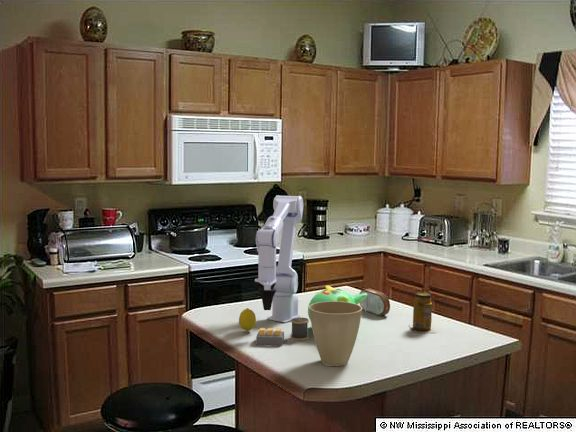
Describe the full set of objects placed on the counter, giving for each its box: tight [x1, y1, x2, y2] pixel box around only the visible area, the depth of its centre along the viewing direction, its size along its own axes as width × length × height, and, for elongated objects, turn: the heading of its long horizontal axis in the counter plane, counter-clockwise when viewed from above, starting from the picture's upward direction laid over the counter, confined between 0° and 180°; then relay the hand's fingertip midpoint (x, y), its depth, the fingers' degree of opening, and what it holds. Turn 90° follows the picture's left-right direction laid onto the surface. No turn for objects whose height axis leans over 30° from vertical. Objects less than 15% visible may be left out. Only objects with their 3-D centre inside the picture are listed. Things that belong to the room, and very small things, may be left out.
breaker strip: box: [255, 327, 285, 347], centre depth 192 cm, size 8×6×4 cm
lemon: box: [238, 307, 257, 333], centre depth 202 cm, size 6×6×8 cm
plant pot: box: [308, 301, 363, 367], centre depth 174 cm, size 15×15×16 cm
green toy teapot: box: [307, 285, 367, 322], centre depth 204 cm, size 18×17×15 cm
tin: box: [359, 288, 391, 317], centre depth 227 cm, size 15×3×8 cm, turn 33°
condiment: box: [408, 292, 437, 334], centre depth 206 cm, size 7×8×12 cm
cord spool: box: [290, 316, 310, 342], centre depth 196 cm, size 6×6×6 cm
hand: (267, 306), depth 201 cm, fingers open, 7 cm apart
